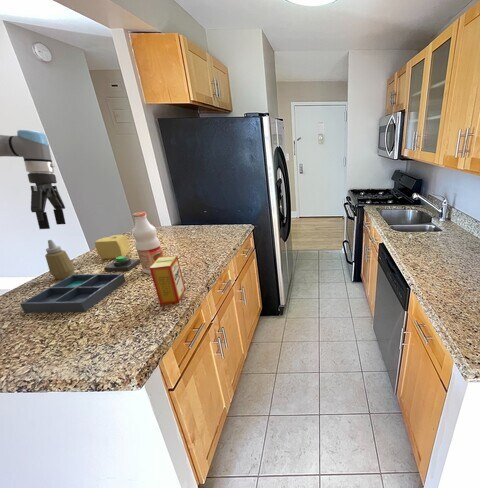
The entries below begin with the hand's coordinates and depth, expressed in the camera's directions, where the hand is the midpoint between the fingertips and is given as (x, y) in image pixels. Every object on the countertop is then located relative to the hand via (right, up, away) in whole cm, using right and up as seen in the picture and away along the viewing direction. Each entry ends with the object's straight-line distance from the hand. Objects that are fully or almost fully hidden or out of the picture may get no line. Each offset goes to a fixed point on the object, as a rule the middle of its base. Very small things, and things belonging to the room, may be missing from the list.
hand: (53, 226), depth 107 cm
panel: (+13, -19, +20) cm, 31 cm away
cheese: (-1, -13, +34) cm, 36 cm away
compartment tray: (+14, -28, -3) cm, 31 cm away
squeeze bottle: (-7, -22, +12) cm, 26 cm away
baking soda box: (+52, -28, -4) cm, 59 cm away
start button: (+13, -15, +19) cm, 28 cm away
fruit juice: (+30, -20, +18) cm, 40 cm away
